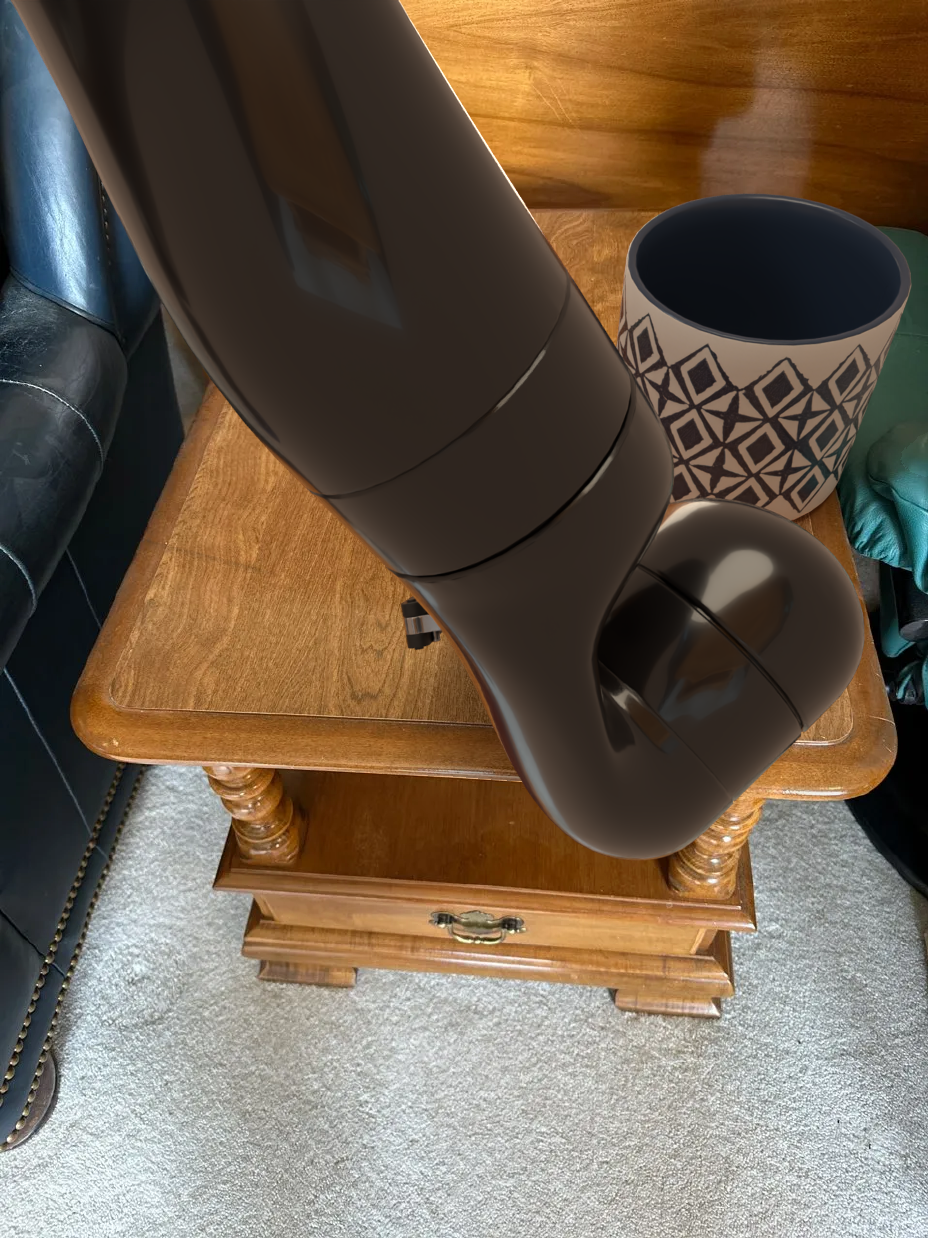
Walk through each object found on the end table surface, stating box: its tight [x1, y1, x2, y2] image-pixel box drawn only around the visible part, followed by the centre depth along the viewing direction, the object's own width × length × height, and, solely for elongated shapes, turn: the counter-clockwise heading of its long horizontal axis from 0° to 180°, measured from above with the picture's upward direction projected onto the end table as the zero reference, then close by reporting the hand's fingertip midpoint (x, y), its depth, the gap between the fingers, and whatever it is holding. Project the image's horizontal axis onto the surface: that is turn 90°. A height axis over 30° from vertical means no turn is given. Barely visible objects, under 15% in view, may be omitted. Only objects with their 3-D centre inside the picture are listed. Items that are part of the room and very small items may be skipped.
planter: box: [615, 193, 912, 521], centre depth 67 cm, size 18×18×16 cm
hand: (501, 592), depth 59 cm, fingers closed on robot figurine, 5 cm apart
